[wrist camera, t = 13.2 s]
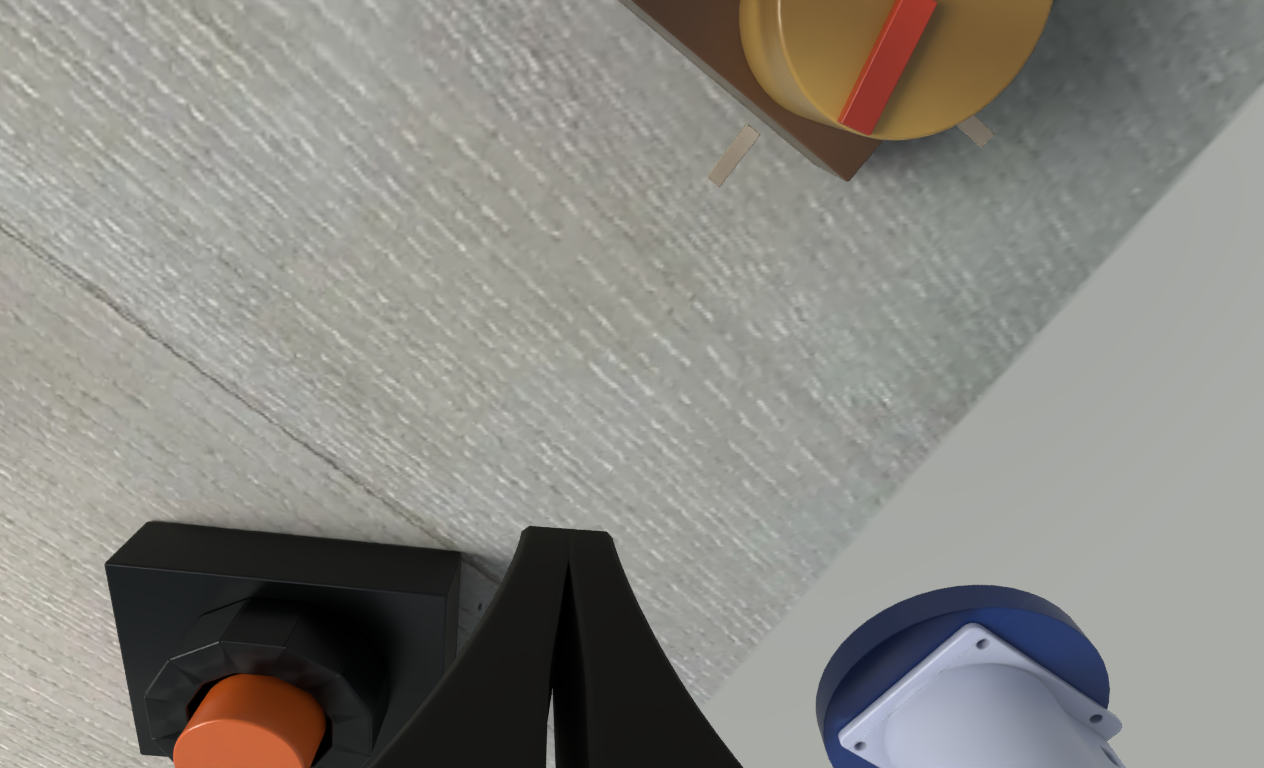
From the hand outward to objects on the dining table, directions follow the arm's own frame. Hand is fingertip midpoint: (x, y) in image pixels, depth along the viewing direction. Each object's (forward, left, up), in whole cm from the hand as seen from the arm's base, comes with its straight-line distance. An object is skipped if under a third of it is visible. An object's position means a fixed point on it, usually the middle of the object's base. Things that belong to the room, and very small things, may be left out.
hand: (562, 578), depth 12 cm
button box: (+2, +14, -10) cm, 18 cm away
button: (+2, +14, -7) cm, 16 cm away
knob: (+1, -10, -7) cm, 13 cm away
